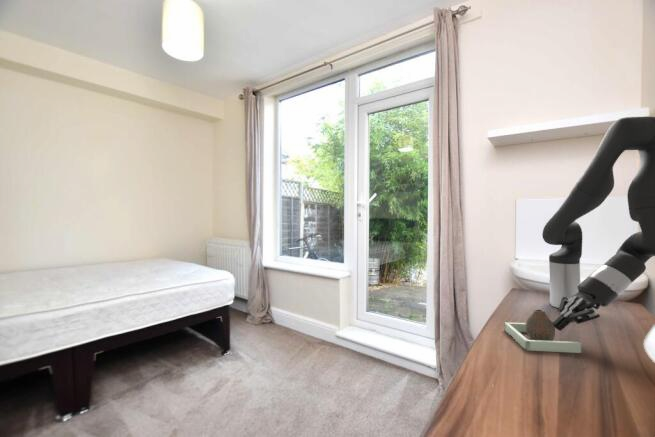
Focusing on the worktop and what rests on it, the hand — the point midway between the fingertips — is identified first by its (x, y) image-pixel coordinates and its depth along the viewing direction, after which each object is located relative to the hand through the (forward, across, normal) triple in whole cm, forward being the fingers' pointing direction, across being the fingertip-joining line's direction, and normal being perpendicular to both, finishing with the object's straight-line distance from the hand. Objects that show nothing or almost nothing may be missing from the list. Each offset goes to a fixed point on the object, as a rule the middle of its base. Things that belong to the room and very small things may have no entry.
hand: (555, 327), depth 83 cm
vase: (+6, 0, 0) cm, 6 cm away
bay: (+6, 0, 0) cm, 6 cm away
